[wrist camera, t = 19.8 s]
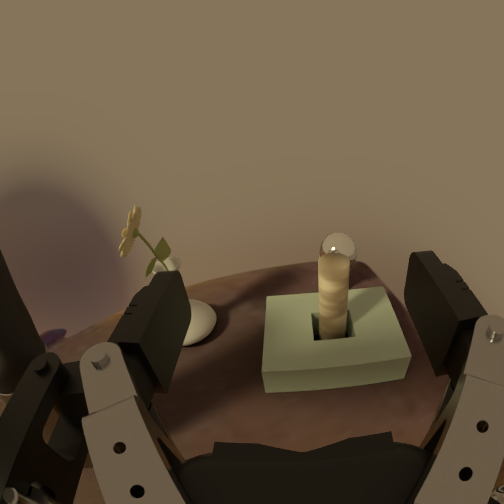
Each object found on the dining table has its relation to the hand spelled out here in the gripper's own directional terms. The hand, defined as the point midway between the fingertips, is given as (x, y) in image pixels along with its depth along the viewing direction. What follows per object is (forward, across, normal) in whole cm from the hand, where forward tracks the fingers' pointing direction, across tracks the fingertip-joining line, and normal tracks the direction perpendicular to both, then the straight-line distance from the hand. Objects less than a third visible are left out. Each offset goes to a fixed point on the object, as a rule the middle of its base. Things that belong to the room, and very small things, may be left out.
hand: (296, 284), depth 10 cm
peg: (+24, -5, +30) cm, 39 cm away
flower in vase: (+29, +20, +30) cm, 46 cm away
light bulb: (+39, -8, +30) cm, 50 cm away
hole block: (+24, -5, +30) cm, 39 cm away
